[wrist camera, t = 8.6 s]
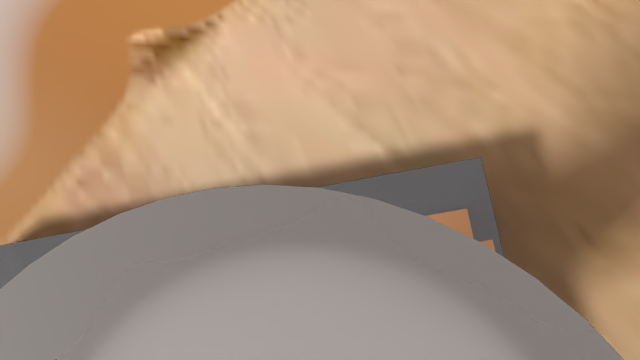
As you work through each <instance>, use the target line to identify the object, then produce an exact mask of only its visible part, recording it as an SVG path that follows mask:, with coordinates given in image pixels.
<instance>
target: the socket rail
mask: <svg viewBox="0 0 640 360" xmlns="http://www.w3.org/2000/svg"><path fill="white" fill-rule="evenodd" d="M316 188H323V189H328V190H333V191H338V192H343V193H348V194H353V195H358V196H363V197H368V198H373V199H376V200H379V201H382V202H385V203H388V204H391V205H394V206H397V207H400V208H403V209H406V210H409V211H412V212H415V213H418V214H421V215H424V216H427V217H429V218H431V219H433V220H435V221H437V222H439V223H441V224H443V225H446V226H448V227H450V228H452V229H454V230H456V231H458V232H460V233H462V234H464V235H466V236H468V237H470V238H472V239H475V240H477V241H479V242H481V243H482V244H484V245H486V246H487V247H489V248H490V249H492V250H493V251H495V252H496V253H498V254H499V255H501V256H503V257H504V254H503V250H502V246H501V241H500V237H499V233H498V229H497V224H496V220H495V216H494V212H493V207H492V203H491V199H490V195H489V190H488V186H487V182H486V177H485V173H484V169H483V165H482V160H481V157H480V158H474V159H469V160H463V161H458V162H452V163H447V164H441V165H436V166H431V167H425V168H420V169H414V170H409V171H403V172H398V173H392V174H387V175H381V176H376V177H371V178H365V179H360V180H354V181H349V182H343V183H338V184H332V185H327V186H321V187H316ZM83 231H85V230H82V231H76V232H71V233H65V234H60V235H54V236H49V237H43V238H38V239H33V240H27V241H22V242H16V243H11V244H5V245H0V289H1V288H2V287H3V286H4V285H6V284H7V283H8V282H9V281H10V280H12V279H13V278H14V277H15V276H16V275H18V274H19V273H20V272H21V271H22V270H24V269H25V268H26V267H27V266H28V265H30V264H31V263H33V262H34V261H36V260H37V259H39V258H40V257H42V256H43V255H45V254H46V253H48V252H49V251H51V250H52V249H54V248H56V247H57V246H59V245H60V244H62V243H63V242H65V241H66V240H68V239H69V238H71V237H72V236H74V235H76V234H78V233H81V232H83Z"/></svg>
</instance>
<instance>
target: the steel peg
mask: <svg viewBox="0 0 640 360" xmlns="http://www.w3.org/2000/svg"><path fill="white" fill-rule="evenodd" d="M0 360H624V359H623V358H622V357H621V356H620V355H619V354H618V353H617V352H616V351H615V350H614V348H613V347H612V346H611V345H610V344H609V343H608V342H607V341H606V340H605V339H604V338H603V337H602V336H601V335H600V334H599V333H598V332H597V331H596V330H595V329H594V327H593V326H592V325H591V324H590V323H589V322H588V321H587V320H586V319H584V318H583V317H582V316H581V315H580V314H578V313H577V312H576V311H575V310H574V309H572V308H571V307H570V306H569V305H568V304H566V303H565V302H564V301H563V300H562V299H560V298H559V297H558V296H557V295H555V294H554V293H553V292H552V291H551V290H549V289H548V288H547V287H546V286H545V285H543V284H542V283H541V282H540V281H539V280H537V279H536V278H535V277H534V276H532V275H530V274H529V273H527V272H526V271H524V270H523V269H521V268H520V267H518V266H516V265H515V264H513V263H512V262H510V261H509V260H507V259H506V258H504V257H503V256H501V255H499V254H498V253H496V252H495V251H493V250H492V249H490V248H489V247H487V246H486V245H484V244H482V243H481V242H479V241H477V240H475V239H472V238H470V237H468V236H466V235H464V234H462V233H460V232H458V231H456V230H454V229H452V228H450V227H448V226H446V225H443V224H441V223H439V222H437V221H435V220H433V219H431V218H429V217H427V216H424V215H421V214H418V213H415V212H412V211H409V210H406V209H403V208H400V207H397V206H394V205H391V204H388V203H385V202H382V201H379V200H376V199H373V198H368V197H363V196H358V195H353V194H348V193H343V192H338V191H333V190H328V189H323V188H315V187H299V186H284V185H268V184H265V185H250V186H236V187H221V188H212V189H207V190H202V191H197V192H192V193H187V194H183V195H178V196H173V197H168V198H164V199H161V200H158V201H155V202H152V203H149V204H146V205H143V206H140V207H138V208H135V209H132V210H129V211H126V212H123V213H120V214H117V215H115V216H113V217H111V218H109V219H107V220H105V221H103V222H101V223H99V224H97V225H95V226H93V227H91V228H89V229H87V230H85V231H83V232H81V233H78V234H76V235H74V236H72V237H71V238H69V239H68V240H66V241H65V242H63V243H62V244H60V245H59V246H57V247H56V248H54V249H52V250H51V251H49V252H48V253H46V254H45V255H43V256H42V257H40V258H39V259H37V260H36V261H34V262H33V263H31V264H30V265H28V266H27V267H26V268H25V269H24V270H22V271H21V272H20V273H19V274H18V275H16V276H15V277H14V278H13V279H12V280H10V281H9V282H8V283H7V284H6V285H4V286H3V287H2V288H1V289H0Z"/></svg>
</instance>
